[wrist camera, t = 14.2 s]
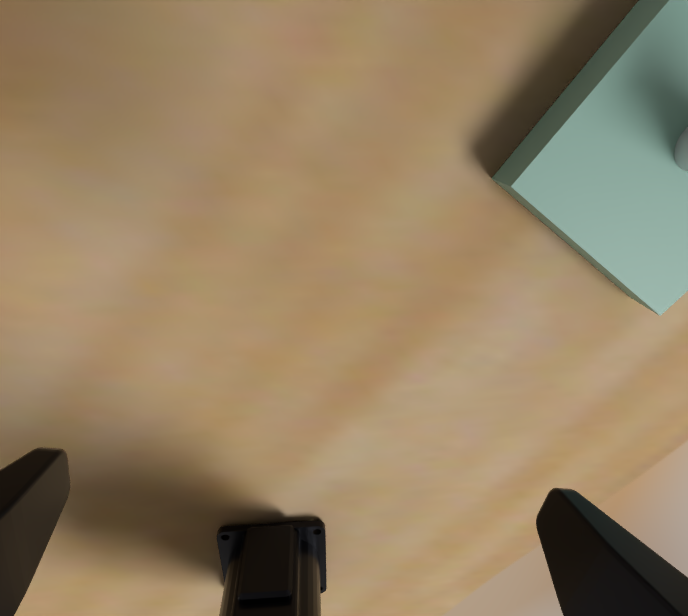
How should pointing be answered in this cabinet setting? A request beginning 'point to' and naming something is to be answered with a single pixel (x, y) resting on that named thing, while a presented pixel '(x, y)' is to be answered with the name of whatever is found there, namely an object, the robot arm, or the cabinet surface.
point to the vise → (619, 157)
